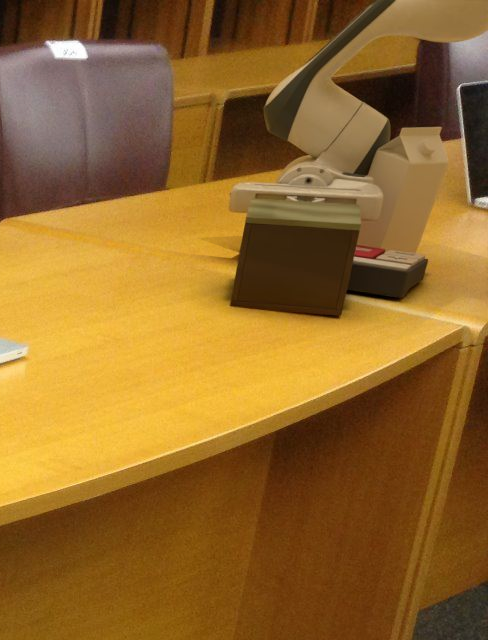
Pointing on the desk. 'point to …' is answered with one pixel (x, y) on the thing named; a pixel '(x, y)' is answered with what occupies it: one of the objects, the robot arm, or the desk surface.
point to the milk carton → (405, 188)
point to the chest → (294, 268)
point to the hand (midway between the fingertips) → (303, 209)
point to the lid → (304, 214)
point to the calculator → (385, 271)
